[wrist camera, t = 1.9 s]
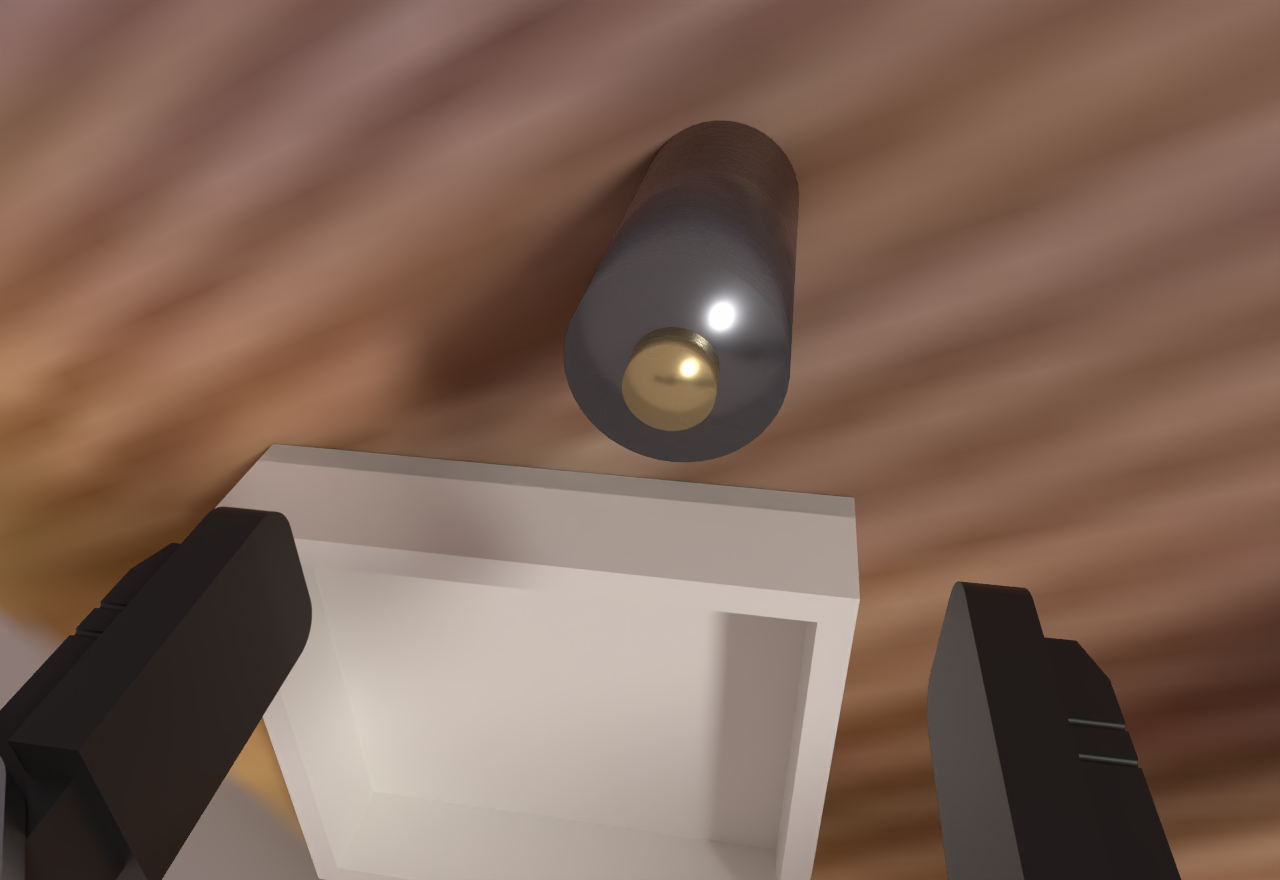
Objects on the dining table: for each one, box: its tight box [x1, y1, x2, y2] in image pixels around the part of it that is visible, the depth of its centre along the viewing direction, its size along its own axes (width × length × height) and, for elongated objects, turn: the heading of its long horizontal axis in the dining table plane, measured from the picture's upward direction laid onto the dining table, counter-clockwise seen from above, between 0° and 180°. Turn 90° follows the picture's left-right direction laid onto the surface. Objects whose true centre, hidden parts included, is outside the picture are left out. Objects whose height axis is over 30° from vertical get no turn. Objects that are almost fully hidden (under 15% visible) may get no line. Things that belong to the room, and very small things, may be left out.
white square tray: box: [215, 444, 860, 880], centre depth 32 cm, size 19×18×4 cm
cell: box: [564, 121, 799, 462], centre depth 19 cm, size 4×4×10 cm
